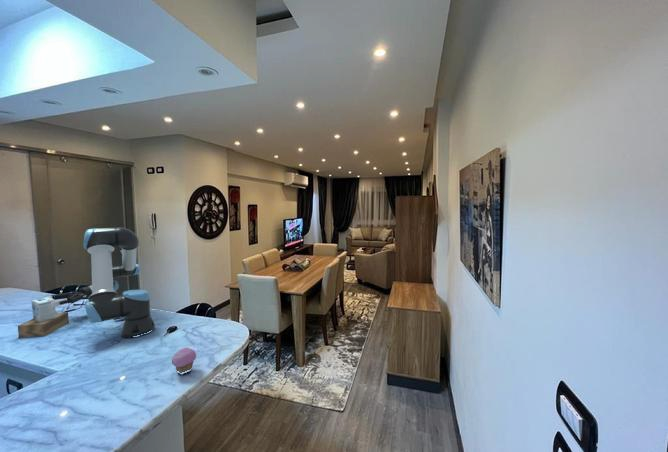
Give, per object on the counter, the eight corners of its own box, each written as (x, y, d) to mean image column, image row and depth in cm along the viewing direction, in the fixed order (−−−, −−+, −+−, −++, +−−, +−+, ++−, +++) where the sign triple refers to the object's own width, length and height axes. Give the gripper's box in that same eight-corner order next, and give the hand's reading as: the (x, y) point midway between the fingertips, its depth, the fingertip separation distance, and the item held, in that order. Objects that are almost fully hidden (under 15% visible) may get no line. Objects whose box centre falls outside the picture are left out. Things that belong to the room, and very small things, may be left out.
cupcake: (191, 363, 117) (190, 342, 116) (200, 371, 112) (199, 349, 111) (169, 373, 110) (167, 350, 110) (177, 382, 105) (176, 358, 104)
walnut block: (68, 323, 158) (68, 312, 158) (45, 336, 142) (44, 323, 142) (44, 325, 156) (43, 313, 155) (18, 338, 140) (17, 325, 139)
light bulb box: (32, 318, 148) (30, 300, 147) (49, 314, 154) (47, 296, 153) (39, 322, 143) (38, 303, 143) (57, 317, 149) (55, 299, 149)
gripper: (102, 300, 164) (57, 313, 144) (77, 295, 173) (31, 307, 153) (101, 288, 164) (56, 299, 144) (76, 284, 172) (30, 294, 152)
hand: (43, 303), depth 148 cm, fingers open, 13 cm apart
